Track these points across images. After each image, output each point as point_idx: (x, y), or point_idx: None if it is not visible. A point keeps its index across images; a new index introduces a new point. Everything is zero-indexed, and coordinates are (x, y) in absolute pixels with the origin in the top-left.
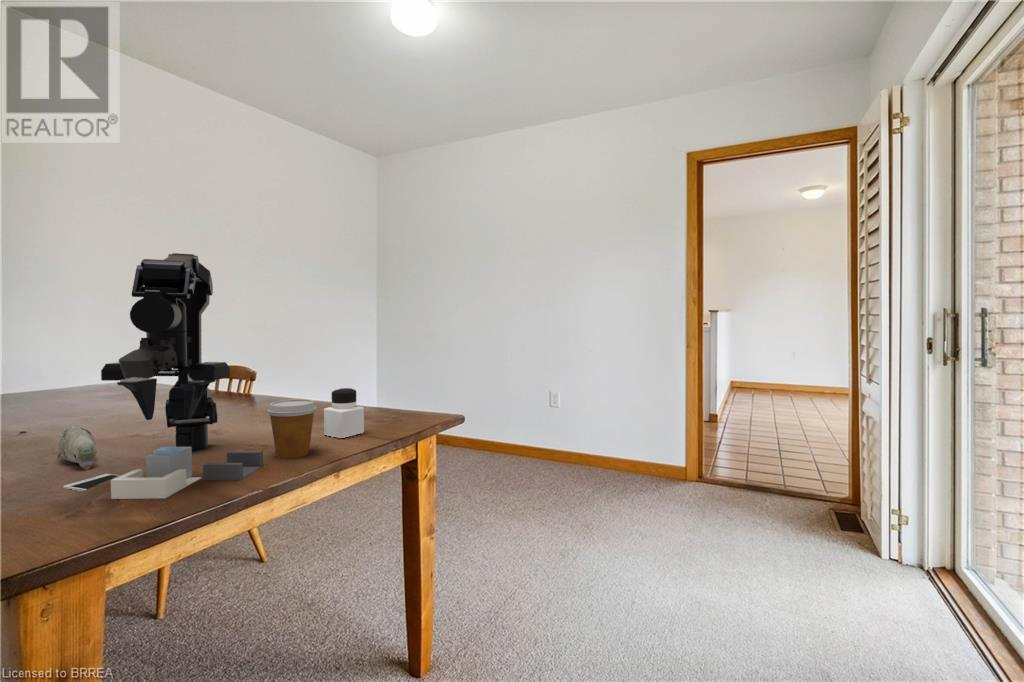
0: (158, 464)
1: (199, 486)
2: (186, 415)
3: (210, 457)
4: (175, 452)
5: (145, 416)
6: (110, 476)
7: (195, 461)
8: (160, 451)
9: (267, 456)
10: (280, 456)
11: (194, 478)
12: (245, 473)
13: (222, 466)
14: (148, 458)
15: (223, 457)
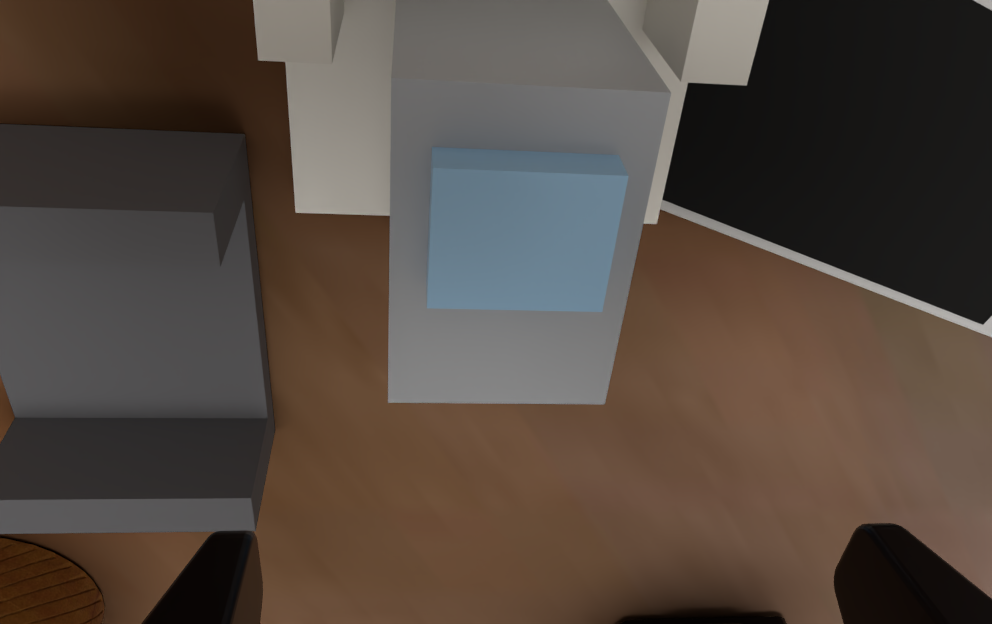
0: (516, 51)
1: (250, 96)
2: (201, 589)
3: (535, 595)
4: (419, 219)
5: (930, 562)
6: (975, 294)
7: (586, 542)
8: (544, 168)
9: None
10: (9, 569)
11: (339, 192)
12: (2, 282)
13: (24, 197)
14: (634, 83)
15: (457, 596)
